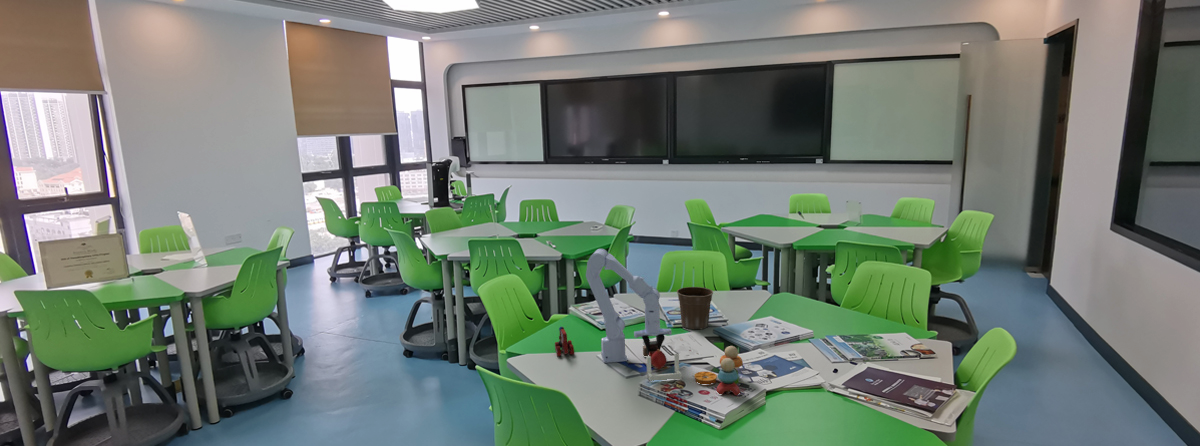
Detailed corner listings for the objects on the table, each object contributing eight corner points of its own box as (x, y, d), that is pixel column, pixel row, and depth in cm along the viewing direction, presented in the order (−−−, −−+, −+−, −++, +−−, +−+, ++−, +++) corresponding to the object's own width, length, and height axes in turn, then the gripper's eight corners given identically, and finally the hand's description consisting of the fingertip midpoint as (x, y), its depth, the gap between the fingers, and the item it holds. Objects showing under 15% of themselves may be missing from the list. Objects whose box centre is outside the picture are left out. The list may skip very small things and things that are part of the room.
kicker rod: (650, 365, 226) (649, 347, 225) (640, 347, 245) (640, 331, 243) (662, 364, 226) (661, 346, 225) (651, 346, 245) (651, 330, 244)
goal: (649, 383, 210) (648, 361, 209) (646, 377, 215) (646, 356, 214) (682, 380, 211) (681, 358, 210) (678, 374, 216) (678, 353, 215)
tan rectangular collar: (644, 357, 233) (644, 348, 233) (643, 355, 236) (642, 345, 235) (659, 356, 234) (659, 346, 234) (658, 354, 237) (658, 344, 236)
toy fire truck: (570, 346, 249) (569, 323, 247) (575, 357, 237) (573, 332, 235) (554, 348, 248) (552, 324, 246) (557, 359, 236) (556, 334, 234)
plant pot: (718, 322, 271) (718, 288, 269) (705, 333, 258) (704, 298, 255) (686, 318, 280) (685, 285, 277) (671, 328, 266) (670, 293, 264)
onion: (650, 366, 224) (649, 346, 223) (664, 365, 225) (664, 345, 224) (652, 372, 219) (652, 352, 217) (668, 371, 219) (667, 351, 218)
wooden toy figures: (692, 375, 215) (692, 343, 213) (740, 375, 214) (740, 342, 212) (698, 397, 197) (697, 362, 195) (750, 397, 196) (750, 361, 194)
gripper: (635, 324, 224) (637, 358, 226) (673, 321, 225) (673, 355, 228) (632, 319, 231) (633, 352, 233) (668, 316, 232) (669, 348, 235)
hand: (653, 353), depth 231 cm, fingers closed on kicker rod, 3 cm apart
